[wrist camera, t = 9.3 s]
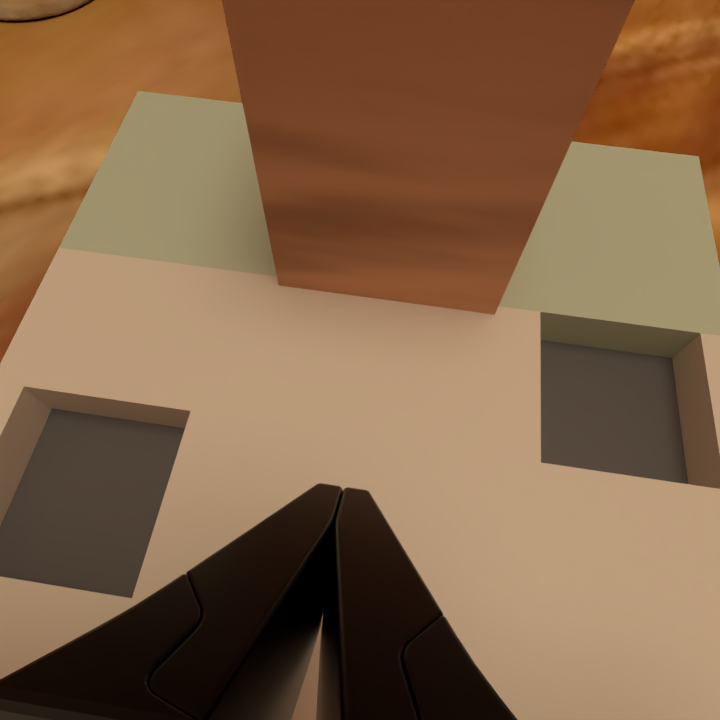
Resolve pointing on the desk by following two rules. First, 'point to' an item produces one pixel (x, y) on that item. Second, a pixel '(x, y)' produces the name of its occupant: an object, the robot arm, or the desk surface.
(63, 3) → the hand bell
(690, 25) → the desk surface
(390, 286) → the terracotta block
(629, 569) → the plate
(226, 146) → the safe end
